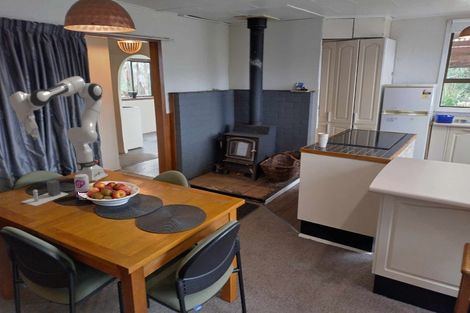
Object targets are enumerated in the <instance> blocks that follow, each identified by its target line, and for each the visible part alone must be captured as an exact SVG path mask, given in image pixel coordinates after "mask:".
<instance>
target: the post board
mask: <svg viewBox="0 0 470 313" xmlns="http://www.w3.org/2000/svg"><path fill="white" fill-rule="evenodd" d="M60 192H61V194H60V195H57V196H54V197H53V196H49V195H48V192H47V193H44V194H41V195H39V193H38V189H33V190H32V196H33V198H29V199H26V200H23V201H22V204H24V203H25V204H27V205H30V206H31V205H32V206H35V207H36V206H40V205H43V204H45V203H49V202H51V201H53V200H57V199H60V198H62V197H65V196H68V195H69V193H67V192H63V191H60Z"/></svg>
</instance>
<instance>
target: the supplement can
mask: <svg viewBox="0 0 470 313" xmlns="http://www.w3.org/2000/svg"><path fill="white" fill-rule="evenodd" d="M73 181H74V187H75V196H76V198H78V200H79V201H85V200H86V199H83V198H81V197H80V196H79V195H78V192H79V193H87V192H88V191H89V189H90V190H91V188H90V181H89V178H88V176H87V174H78V173H77V174H76V175H74V178H73Z"/></svg>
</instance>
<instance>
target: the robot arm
mask: <svg viewBox="0 0 470 313" xmlns="http://www.w3.org/2000/svg"><path fill="white" fill-rule="evenodd" d="M75 94H76V96H77V97H79V98H80V99H86V104H85V106H84V108H83V111H82V113H81V115H80V121H81V127H79V126H74V127H71V128H69V129H68V130H67V131H66V136H67V139H68V140H69V141H70V142H71V145H72V146H73V148H74V151H75V156H76V168H77V175H78V174H87V176H88V178H89V182H96V181H99V180H102V179H103V178H105V177H107V176H109V174H108V173H105V169H104V168H103V167H102V166H99V165H98V164H97V163H99V160H98V159H94V156H93V154H94V153H93V150H92V148H91V147H90V145H89V144H93V143H95V142H96V141H97V140H98V132H97V131H96V130H97V128H96V126H97V122H98V120H99V116H100V114H101V112H102V107H103V101H102V98H103V87H102V86H101V85H100V84H98V83H94V82H93V83H92V82H88V83H86V82H85V80H84V79H83V78H82V77H81V76H79V75H76V76H74V75H73V76H71V77H67V78H64V79H62V80H61V81H59V82H58V83H57V84H55V85H54V86H51V87H49V88H46V89H43V88H41V89H35V90H33V91H32V92H31V93H25V92H23V91H19V90H18V91H15V92H13V93H10V95H9V97H8V101H9V103H10V105H11V107H12V109H13V111H14V112H15V116H16V118H17V119H18V121H19V123H20V124H21V125H22V126H23V128H24V129H25V131H26V132H27V134H28V135H30V136H31V137H32V138H33V141H35V140H37V139H38V138H39V137H40V135H39V133H38V129H39V127H38V124H37V123H36V121H35V119H36V116H35V114H34V112H33V111H39V110H40V109H41V108H43V107H44V106H46V105H47V104H49V102H50V101H51V100H52V99H54V98H56V97H59V96H61V97H63V98H66V97H71V96H73V95H75Z"/></svg>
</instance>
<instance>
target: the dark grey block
mask: <svg viewBox="0 0 470 313" xmlns="http://www.w3.org/2000/svg"><path fill="white" fill-rule="evenodd" d="M46 188H47V193H48V195H49V196H53V197H54V196H57V195H60V194H61V192H62V191H61V184H60V181H59V180H55V179H53V180H50V181H49V180H48V181H47V182H46Z"/></svg>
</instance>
